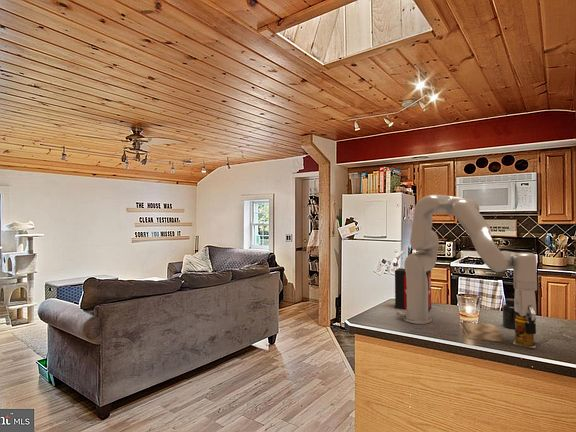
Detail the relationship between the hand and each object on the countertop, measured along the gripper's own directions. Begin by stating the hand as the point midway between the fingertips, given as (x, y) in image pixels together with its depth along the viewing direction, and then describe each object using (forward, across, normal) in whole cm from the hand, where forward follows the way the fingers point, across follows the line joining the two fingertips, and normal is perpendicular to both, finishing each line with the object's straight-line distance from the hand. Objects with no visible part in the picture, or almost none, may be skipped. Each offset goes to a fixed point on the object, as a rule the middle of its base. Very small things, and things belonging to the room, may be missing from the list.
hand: (526, 329), depth 140 cm
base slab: (+5, -6, -14) cm, 16 cm away
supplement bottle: (+5, -21, +1) cm, 22 cm away
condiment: (+6, 0, 0) cm, 6 cm away
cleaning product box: (+5, -43, -39) cm, 59 cm away
